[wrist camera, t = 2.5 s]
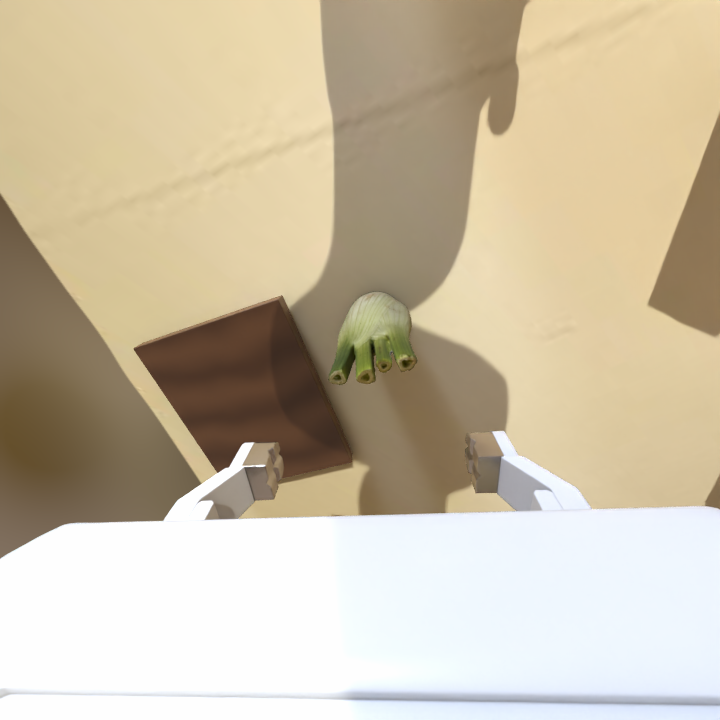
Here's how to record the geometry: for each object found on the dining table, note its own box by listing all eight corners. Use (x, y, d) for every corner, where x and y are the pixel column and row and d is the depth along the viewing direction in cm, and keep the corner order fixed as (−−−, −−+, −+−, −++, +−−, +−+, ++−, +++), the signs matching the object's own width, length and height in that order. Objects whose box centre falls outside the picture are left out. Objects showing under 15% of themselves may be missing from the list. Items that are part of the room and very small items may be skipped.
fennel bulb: (341, 330, 32) (323, 394, 22) (350, 281, 30) (335, 324, 20) (399, 342, 33) (409, 411, 22) (411, 294, 31) (430, 343, 20)
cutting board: (142, 342, 34) (132, 348, 33) (282, 295, 31) (278, 299, 30) (234, 481, 42) (229, 490, 41) (352, 453, 39) (351, 462, 38)
